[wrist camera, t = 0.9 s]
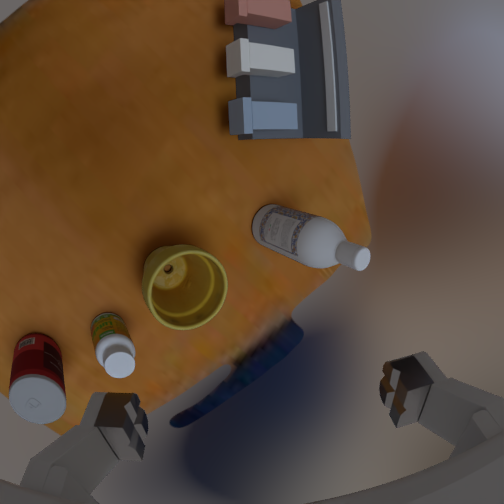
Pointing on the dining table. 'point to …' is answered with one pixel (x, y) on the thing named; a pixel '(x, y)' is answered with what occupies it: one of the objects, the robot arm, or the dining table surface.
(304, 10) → the console
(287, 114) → the slate-blue key
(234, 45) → the ivory key
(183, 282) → the plant pot
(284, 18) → the terracotta key
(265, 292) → the dining table surface
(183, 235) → the dining table surface
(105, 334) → the supplement bottle
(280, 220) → the bath foam
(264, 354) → the dining table surface
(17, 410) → the canned food
